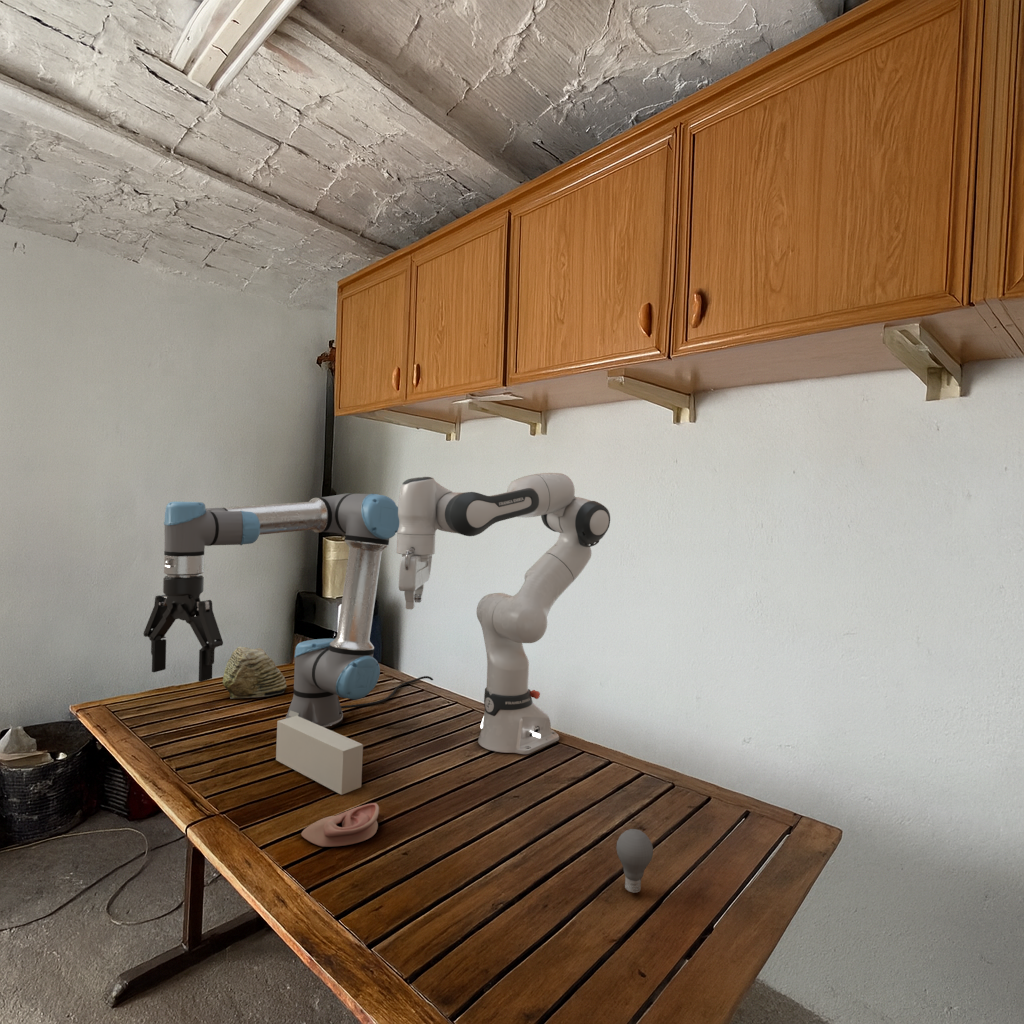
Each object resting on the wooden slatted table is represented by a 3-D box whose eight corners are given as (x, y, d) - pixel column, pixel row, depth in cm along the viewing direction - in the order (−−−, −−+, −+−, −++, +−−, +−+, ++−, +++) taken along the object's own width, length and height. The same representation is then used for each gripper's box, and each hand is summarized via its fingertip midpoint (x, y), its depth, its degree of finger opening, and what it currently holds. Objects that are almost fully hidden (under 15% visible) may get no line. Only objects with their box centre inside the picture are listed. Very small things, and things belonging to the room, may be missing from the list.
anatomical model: (293, 820, 116) (324, 792, 127) (292, 842, 116) (323, 812, 127) (360, 831, 113) (386, 801, 124) (359, 853, 113) (385, 821, 124)
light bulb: (610, 879, 108) (613, 822, 108) (644, 879, 109) (647, 822, 109) (619, 902, 102) (622, 840, 102) (655, 901, 103) (658, 840, 103)
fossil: (218, 695, 195) (220, 647, 195) (278, 685, 208) (279, 640, 207) (228, 703, 189) (230, 653, 188) (289, 692, 201) (290, 645, 201)
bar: (275, 760, 151) (277, 720, 151) (295, 753, 155) (296, 715, 155) (341, 795, 135) (343, 751, 135) (361, 786, 139) (363, 744, 139)
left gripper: (126, 571, 134) (124, 671, 135) (213, 582, 125) (210, 688, 125) (157, 568, 141) (155, 663, 142) (242, 578, 132) (240, 679, 132)
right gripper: (421, 550, 137) (419, 613, 137) (436, 543, 158) (434, 599, 158) (392, 549, 137) (390, 612, 138) (410, 542, 158) (409, 598, 158)
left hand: (181, 675), depth 134 cm, fingers open, 13 cm apart
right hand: (414, 605), depth 148 cm, fingers open, 8 cm apart
